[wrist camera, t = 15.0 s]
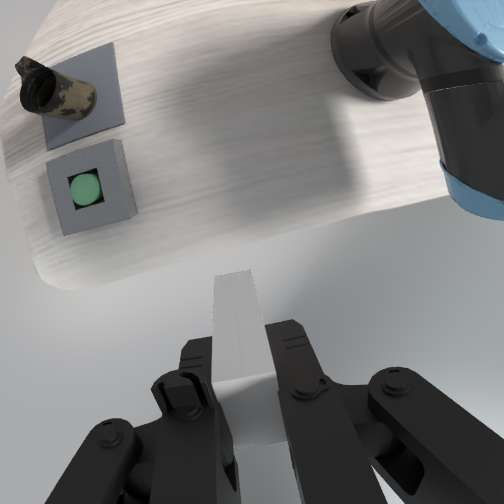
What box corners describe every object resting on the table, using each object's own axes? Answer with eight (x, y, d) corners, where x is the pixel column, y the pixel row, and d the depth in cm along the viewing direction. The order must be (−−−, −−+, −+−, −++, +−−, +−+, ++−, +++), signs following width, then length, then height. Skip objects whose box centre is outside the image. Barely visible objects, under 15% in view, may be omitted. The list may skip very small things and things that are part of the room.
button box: (121, 139, 37) (112, 139, 34) (137, 212, 41) (130, 218, 37) (57, 161, 37) (45, 162, 34) (74, 229, 40) (64, 236, 37)
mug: (104, 102, 35) (64, 88, 24) (74, 129, 36) (26, 126, 24) (77, 62, 33) (34, 39, 21) (48, 89, 33) (-1, 76, 22)
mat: (113, 43, 33) (112, 42, 32) (125, 123, 37) (124, 122, 36) (39, 73, 33) (37, 73, 32) (49, 149, 36) (47, 150, 36)
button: (101, 169, 37) (93, 170, 34) (108, 197, 38) (100, 201, 36) (77, 177, 37) (67, 179, 34) (83, 204, 38) (74, 208, 35)
